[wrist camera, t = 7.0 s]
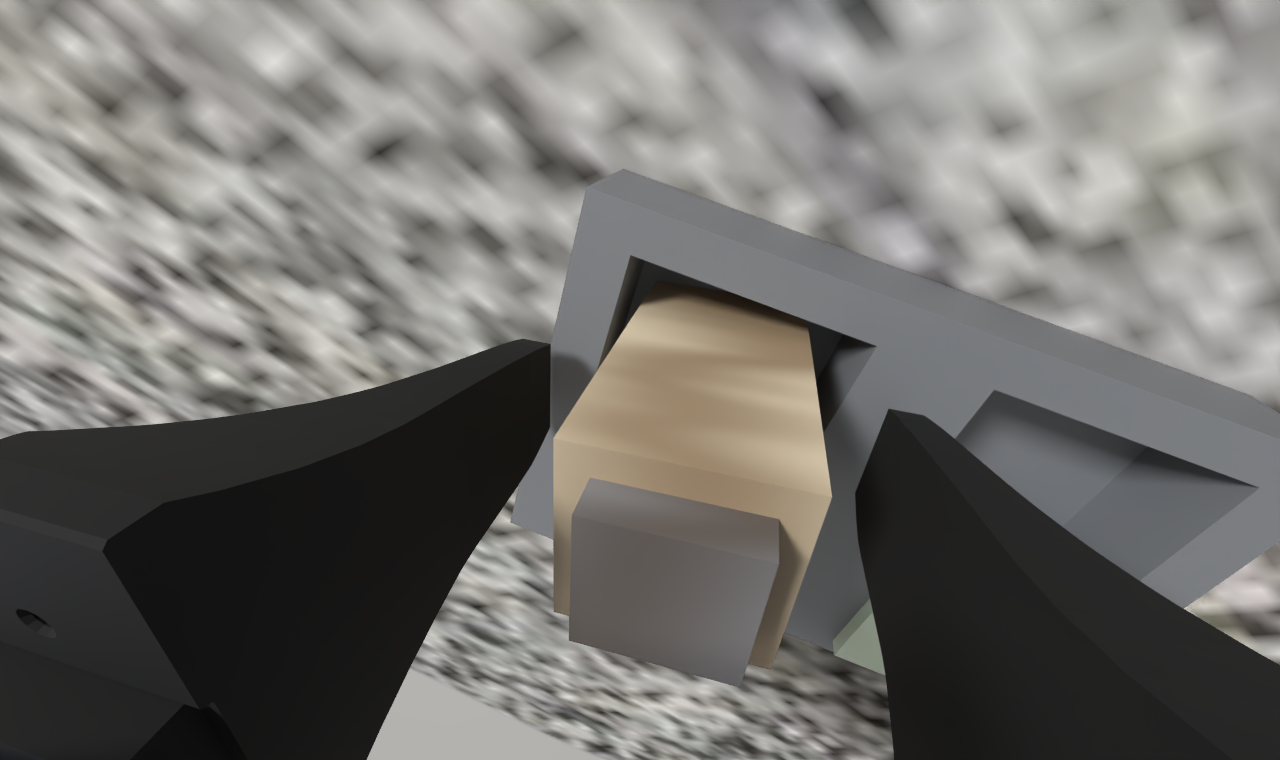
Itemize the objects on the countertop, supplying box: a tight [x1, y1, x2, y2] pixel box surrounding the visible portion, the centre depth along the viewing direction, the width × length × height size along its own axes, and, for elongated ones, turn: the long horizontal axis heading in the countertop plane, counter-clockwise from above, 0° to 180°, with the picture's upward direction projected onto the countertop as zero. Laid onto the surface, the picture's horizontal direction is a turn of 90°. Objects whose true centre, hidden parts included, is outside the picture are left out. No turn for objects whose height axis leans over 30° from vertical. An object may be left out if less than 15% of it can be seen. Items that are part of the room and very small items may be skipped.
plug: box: [553, 281, 832, 687], centre depth 10 cm, size 3×3×7 cm
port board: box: [511, 169, 1280, 675], centre depth 12 cm, size 14×9×3 cm, turn 73°
